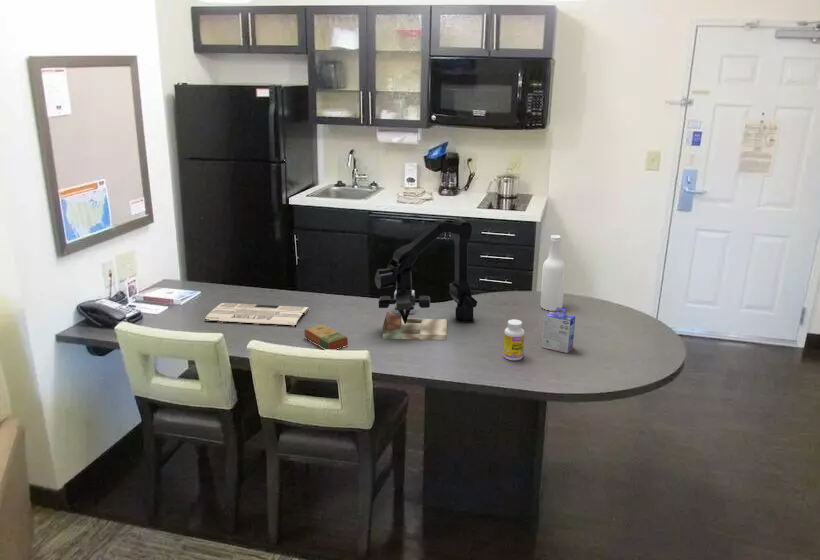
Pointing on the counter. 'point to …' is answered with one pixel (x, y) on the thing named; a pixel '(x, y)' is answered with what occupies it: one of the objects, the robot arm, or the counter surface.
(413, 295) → the medicine box
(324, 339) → the carton
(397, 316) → the block
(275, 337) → the counter surface
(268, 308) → the newspaper
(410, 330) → the trap board
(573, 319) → the ink cartridge box
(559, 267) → the alcohol
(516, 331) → the supplement bottle
